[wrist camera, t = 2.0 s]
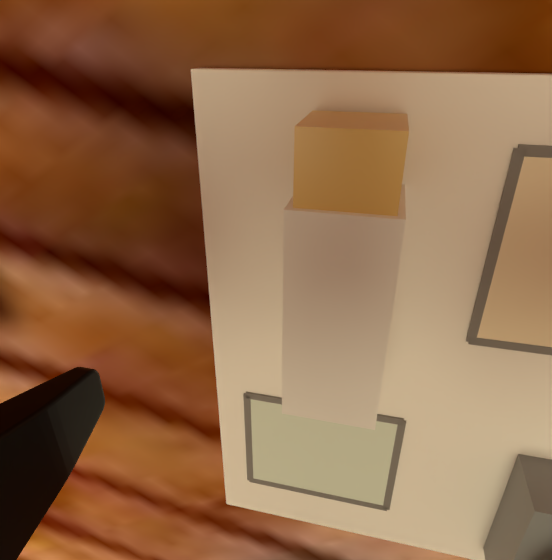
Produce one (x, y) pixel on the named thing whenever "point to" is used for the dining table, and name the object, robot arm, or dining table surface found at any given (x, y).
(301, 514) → the picture board
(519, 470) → the button housing
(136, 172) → the dining table surface
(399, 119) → the marker
